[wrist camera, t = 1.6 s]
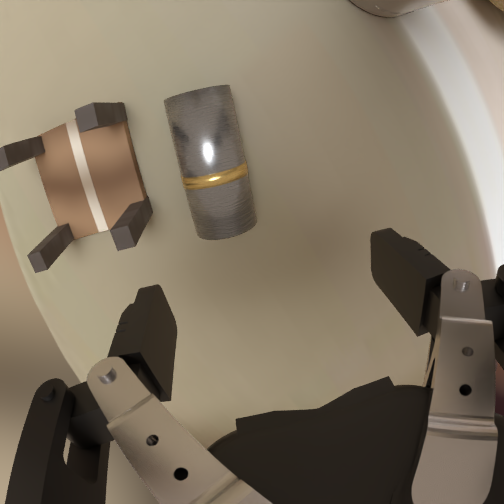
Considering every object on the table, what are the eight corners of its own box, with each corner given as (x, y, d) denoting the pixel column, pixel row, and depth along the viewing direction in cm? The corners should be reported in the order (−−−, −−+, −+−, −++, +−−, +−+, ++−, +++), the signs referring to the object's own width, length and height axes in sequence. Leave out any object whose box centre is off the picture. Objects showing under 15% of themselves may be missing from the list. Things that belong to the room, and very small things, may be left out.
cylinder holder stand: (36, 138, 22) (-9, 151, 15) (123, 102, 22) (92, 101, 16) (68, 237, 27) (36, 274, 20) (153, 213, 27) (135, 247, 20)
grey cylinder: (168, 102, 23) (157, 100, 18) (229, 88, 23) (232, 82, 18) (197, 222, 28) (194, 245, 23) (253, 209, 28) (261, 230, 23)
